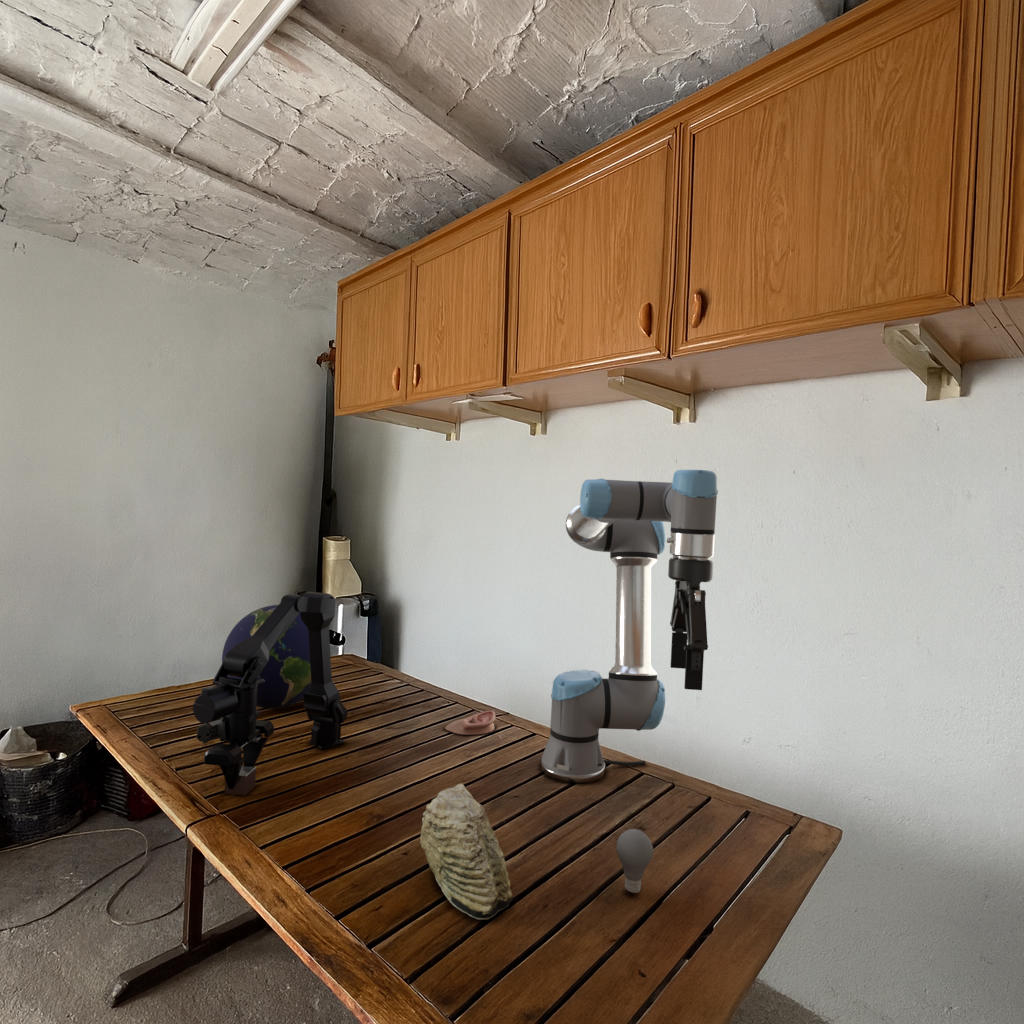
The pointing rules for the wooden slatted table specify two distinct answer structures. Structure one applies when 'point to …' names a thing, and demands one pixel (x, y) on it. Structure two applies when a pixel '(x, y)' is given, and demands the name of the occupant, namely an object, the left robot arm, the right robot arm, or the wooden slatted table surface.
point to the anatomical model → (473, 724)
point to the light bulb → (634, 857)
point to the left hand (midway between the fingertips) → (239, 781)
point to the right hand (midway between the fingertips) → (685, 678)
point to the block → (243, 781)
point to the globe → (277, 660)
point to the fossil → (465, 854)
